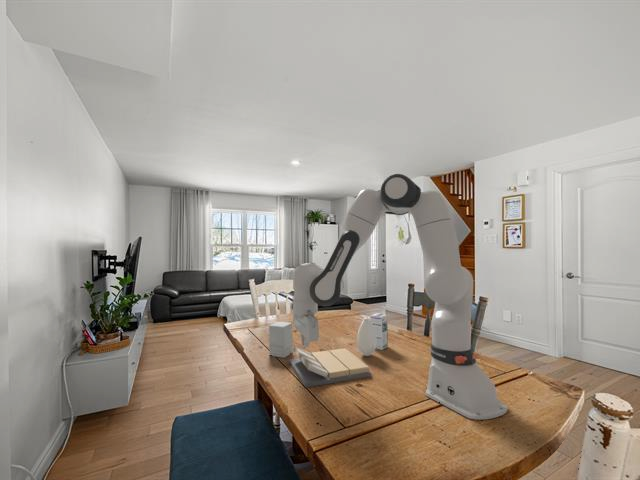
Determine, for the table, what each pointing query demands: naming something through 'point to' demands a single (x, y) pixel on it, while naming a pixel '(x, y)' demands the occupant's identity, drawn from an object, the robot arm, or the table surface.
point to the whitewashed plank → (310, 362)
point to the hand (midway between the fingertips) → (305, 346)
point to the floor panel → (319, 378)
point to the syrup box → (380, 330)
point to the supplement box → (280, 339)
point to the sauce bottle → (366, 337)
